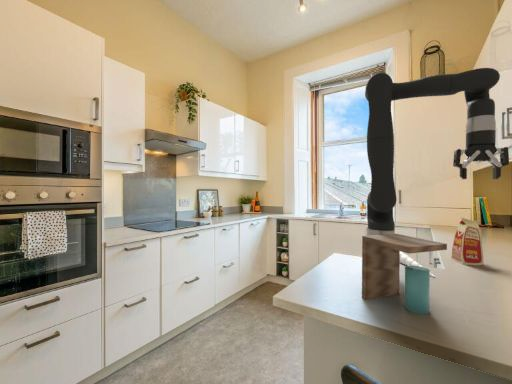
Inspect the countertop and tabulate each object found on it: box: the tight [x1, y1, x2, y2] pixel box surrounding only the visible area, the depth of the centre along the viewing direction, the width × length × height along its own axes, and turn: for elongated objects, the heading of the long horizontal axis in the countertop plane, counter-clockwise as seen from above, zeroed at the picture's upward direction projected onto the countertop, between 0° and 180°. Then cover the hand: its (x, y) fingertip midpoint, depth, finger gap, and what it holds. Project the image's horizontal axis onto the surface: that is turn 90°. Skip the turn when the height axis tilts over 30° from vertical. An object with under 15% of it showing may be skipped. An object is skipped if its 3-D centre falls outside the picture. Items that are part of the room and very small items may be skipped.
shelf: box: [361, 233, 448, 300], centre depth 70 cm, size 13×16×18 cm
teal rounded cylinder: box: [404, 265, 431, 315], centre depth 68 cm, size 6×6×11 cm
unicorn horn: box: [400, 251, 436, 278], centre depth 104 cm, size 5×24×5 cm, turn 178°
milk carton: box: [450, 217, 484, 266], centre depth 113 cm, size 9×9×20 cm
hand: (479, 179), depth 85 cm, fingers open, 8 cm apart
